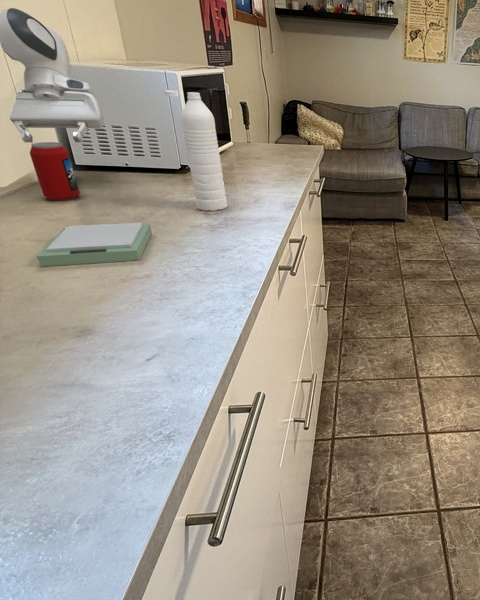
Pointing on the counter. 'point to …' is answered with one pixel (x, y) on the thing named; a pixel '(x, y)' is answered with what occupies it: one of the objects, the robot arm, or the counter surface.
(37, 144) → the beverage can
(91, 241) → the kitchen scale
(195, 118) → the water bottle
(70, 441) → the counter surface
